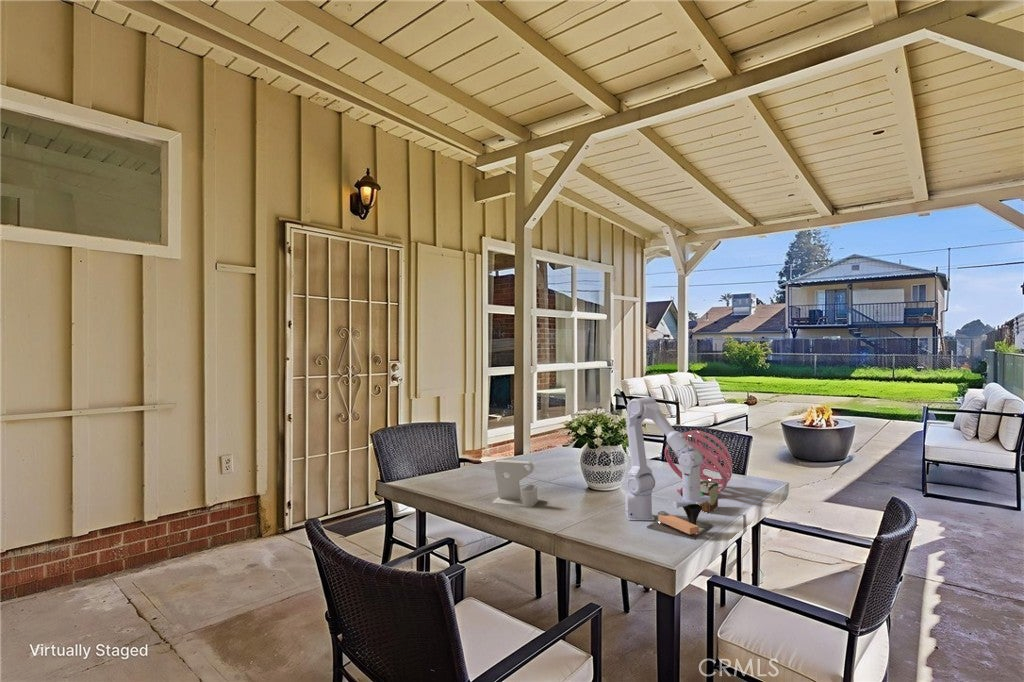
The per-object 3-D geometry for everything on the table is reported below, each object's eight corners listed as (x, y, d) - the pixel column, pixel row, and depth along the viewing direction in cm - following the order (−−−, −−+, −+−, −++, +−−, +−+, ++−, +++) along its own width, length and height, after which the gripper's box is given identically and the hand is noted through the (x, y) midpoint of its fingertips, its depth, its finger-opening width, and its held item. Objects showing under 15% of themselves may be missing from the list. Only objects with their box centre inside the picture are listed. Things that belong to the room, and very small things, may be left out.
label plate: (693, 539, 166) (693, 537, 166) (646, 527, 177) (646, 525, 177) (712, 526, 178) (712, 523, 178) (667, 516, 189) (667, 513, 189)
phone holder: (539, 500, 212) (538, 456, 212) (532, 507, 202) (531, 462, 202) (500, 497, 217) (499, 454, 217) (491, 504, 208) (490, 459, 208)
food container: (703, 503, 203) (702, 478, 204) (719, 506, 200) (718, 480, 200) (691, 511, 194) (691, 485, 194) (708, 514, 190) (707, 487, 190)
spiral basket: (679, 458, 197) (716, 413, 209) (637, 461, 222) (673, 421, 234) (723, 514, 198) (758, 467, 209) (677, 511, 223) (710, 469, 235)
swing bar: (655, 519, 183) (654, 511, 183) (663, 517, 184) (663, 509, 184) (689, 535, 167) (689, 525, 167) (698, 533, 169) (698, 523, 169)
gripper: (682, 491, 166) (683, 533, 166) (716, 486, 172) (717, 526, 172) (668, 486, 173) (669, 526, 173) (701, 481, 178) (702, 520, 178)
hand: (692, 526), depth 172 cm, fingers closed
